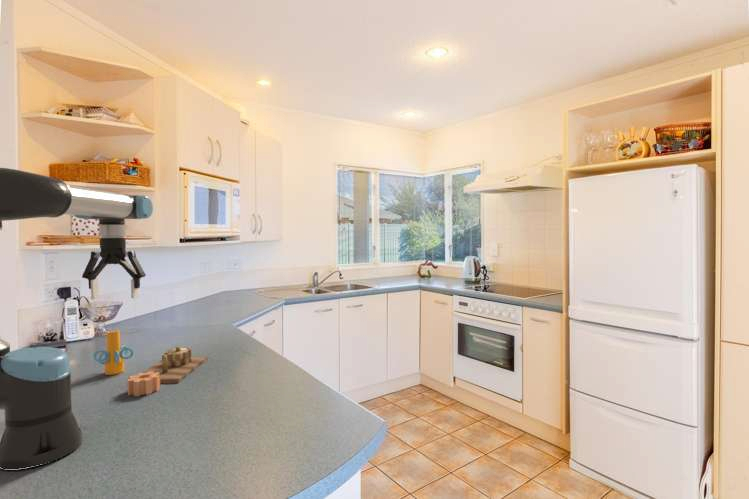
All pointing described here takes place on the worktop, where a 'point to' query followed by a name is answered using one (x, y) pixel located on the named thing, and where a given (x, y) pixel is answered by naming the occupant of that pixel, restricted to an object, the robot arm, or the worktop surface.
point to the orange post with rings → (113, 354)
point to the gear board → (176, 370)
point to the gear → (143, 383)
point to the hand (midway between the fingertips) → (115, 298)
